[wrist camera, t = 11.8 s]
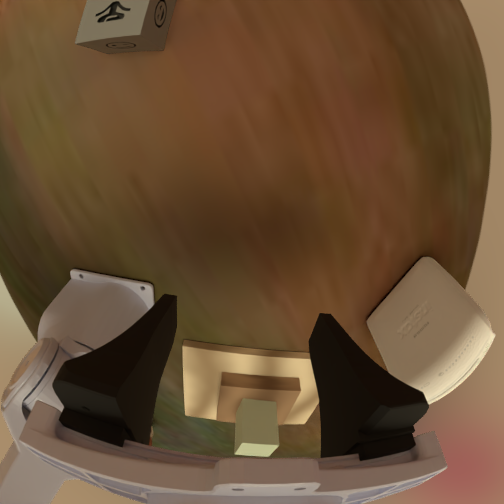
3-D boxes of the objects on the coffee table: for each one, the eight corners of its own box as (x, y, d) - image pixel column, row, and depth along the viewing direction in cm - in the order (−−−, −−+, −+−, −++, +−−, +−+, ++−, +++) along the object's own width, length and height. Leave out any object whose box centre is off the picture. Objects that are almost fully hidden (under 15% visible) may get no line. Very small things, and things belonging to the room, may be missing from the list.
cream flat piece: (186, 409, 36) (183, 426, 33) (184, 339, 28) (179, 359, 26) (303, 418, 37) (305, 434, 34) (342, 353, 30) (348, 372, 27)
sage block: (235, 413, 31) (234, 454, 25) (242, 398, 29) (242, 442, 23) (266, 416, 31) (268, 456, 26) (276, 401, 29) (279, 445, 24)
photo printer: (423, 247, 23) (498, 328, 12) (442, 266, 24) (508, 343, 13) (358, 321, 27) (397, 418, 16) (382, 333, 28) (421, 421, 17)
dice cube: (107, 54, 15) (74, 43, 11) (120, 3, 13) (93, -16, 9) (163, 50, 16) (139, 34, 11) (177, -2, 14) (159, -28, 9)
